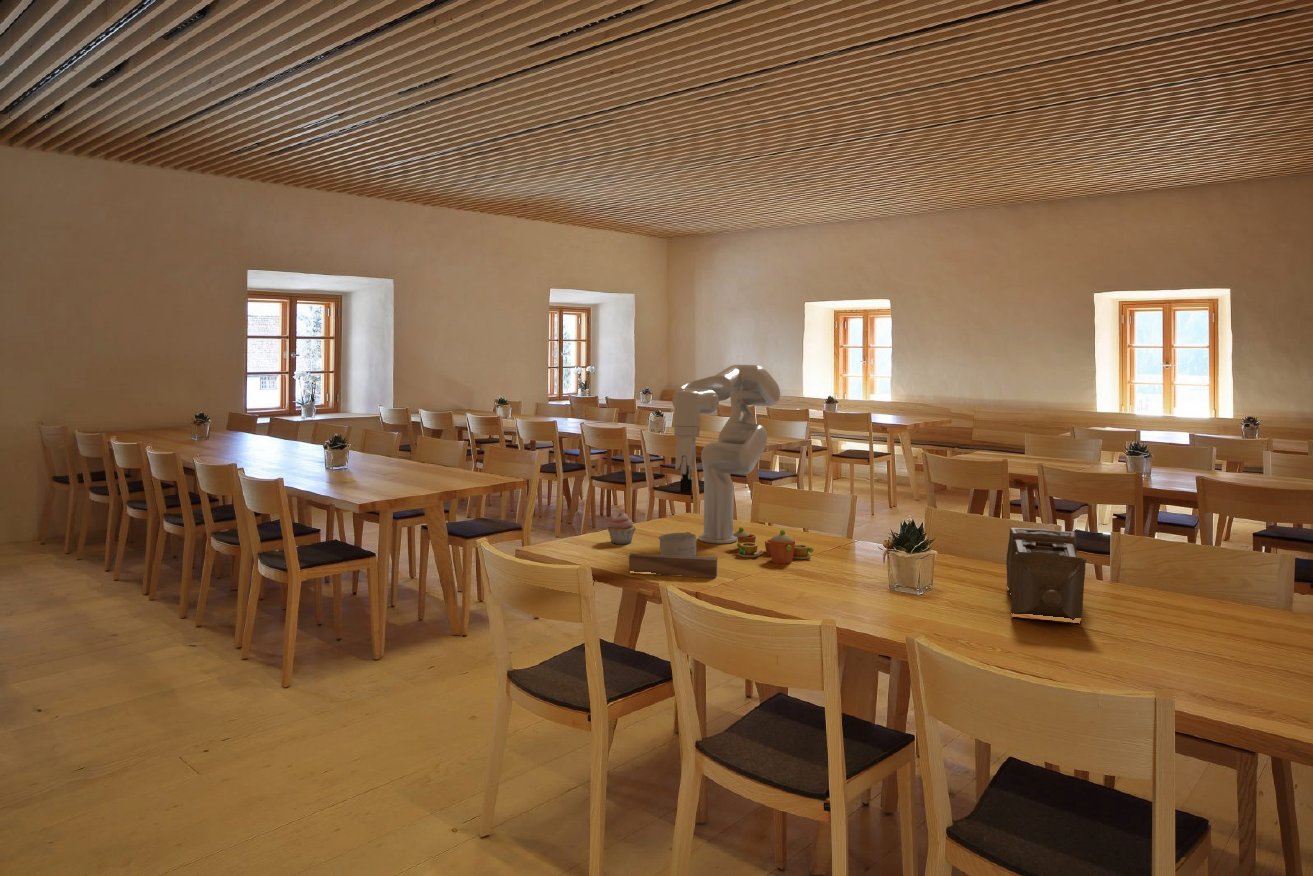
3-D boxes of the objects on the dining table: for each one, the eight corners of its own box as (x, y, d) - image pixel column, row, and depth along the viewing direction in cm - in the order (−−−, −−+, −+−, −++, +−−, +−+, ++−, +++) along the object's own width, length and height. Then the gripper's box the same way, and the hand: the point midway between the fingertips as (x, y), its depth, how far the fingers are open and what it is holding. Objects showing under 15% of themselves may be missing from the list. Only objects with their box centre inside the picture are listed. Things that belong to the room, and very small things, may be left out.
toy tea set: (818, 557, 272) (818, 526, 271) (793, 567, 260) (794, 534, 259) (742, 545, 288) (743, 515, 287) (716, 554, 275) (717, 523, 274)
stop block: (631, 571, 254) (631, 553, 253) (717, 575, 250) (717, 557, 249) (629, 573, 251) (629, 556, 250) (715, 578, 247) (716, 559, 246)
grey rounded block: (681, 569, 257) (682, 541, 256) (651, 563, 263) (651, 535, 262) (709, 559, 268) (709, 533, 267) (679, 554, 274) (679, 528, 273)
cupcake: (602, 541, 292) (602, 510, 291) (628, 538, 296) (629, 508, 295) (613, 547, 283) (613, 515, 282) (640, 544, 287) (640, 513, 286)
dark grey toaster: (1085, 649, 199) (1103, 569, 196) (1000, 630, 205) (1016, 552, 201) (1071, 603, 232) (1086, 533, 229) (998, 587, 237) (1011, 519, 234)
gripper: (677, 429, 280) (677, 488, 282) (670, 433, 265) (670, 495, 267) (702, 429, 279) (701, 489, 281) (696, 434, 264) (695, 496, 266)
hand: (685, 492), depth 274 cm, fingers closed
